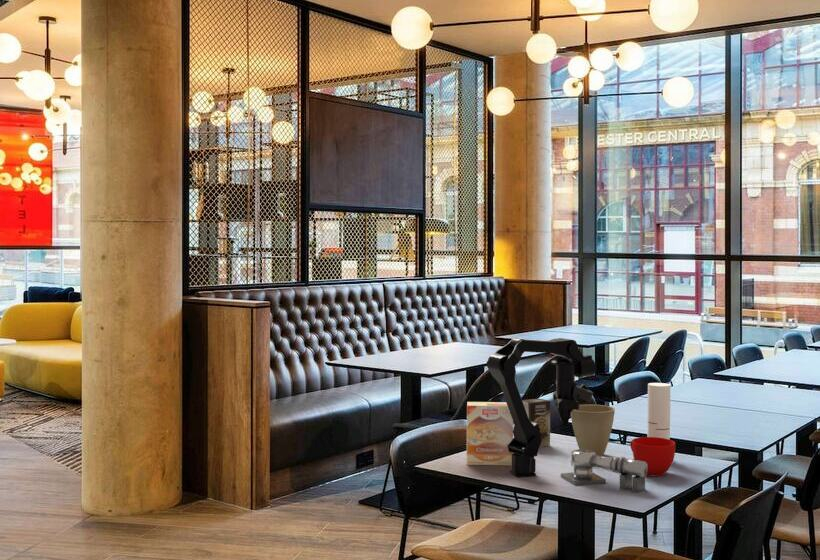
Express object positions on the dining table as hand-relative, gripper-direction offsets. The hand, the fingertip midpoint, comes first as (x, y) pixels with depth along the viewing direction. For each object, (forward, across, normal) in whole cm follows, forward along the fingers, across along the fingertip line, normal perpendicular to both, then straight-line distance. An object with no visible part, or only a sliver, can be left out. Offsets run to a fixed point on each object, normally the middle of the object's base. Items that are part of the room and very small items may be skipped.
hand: (565, 427), depth 280 cm
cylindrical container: (+13, +12, -32) cm, 36 cm away
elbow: (+9, -17, -7) cm, 20 cm away
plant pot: (+13, +17, -11) cm, 24 cm away
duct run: (+13, -24, -16) cm, 32 cm away
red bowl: (+13, -4, -26) cm, 29 cm away
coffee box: (+13, +30, +7) cm, 34 cm away
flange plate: (+13, -14, -4) cm, 20 cm away
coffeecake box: (+13, +5, +24) cm, 28 cm away
